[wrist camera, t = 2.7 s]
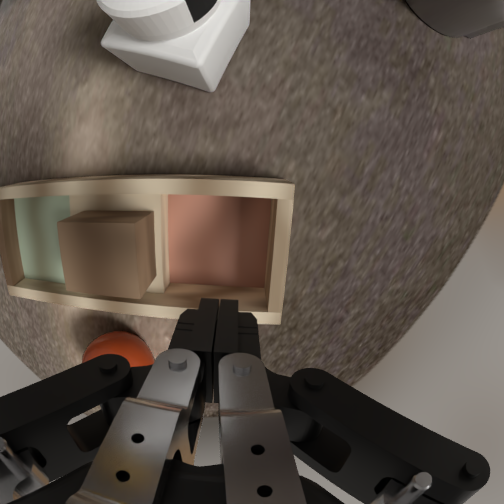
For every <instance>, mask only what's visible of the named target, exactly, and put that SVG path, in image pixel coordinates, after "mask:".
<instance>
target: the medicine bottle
mask: <svg viewBox="0 0 504 504" xmlns="http://www.w3.org/2000/svg"><path fill="white" fill-rule="evenodd" d="M96 1H97V3H98V5H99V6H100V8H101V9H102V10H103V11H104V12H105V13H106V14H108V15H109V16H110V17H111V18H112V19H113V21H112V22H111V24H110V26H109V27H108V29H107V31H106V33H105V35H104V36H103V38H102V40H101V46H102V47H104V48H105V49H107V50H108V51H110V52H111V53H112V54H114V55H115V56H117V57H118V58H120V59H121V60H122V61H124V62H125V63H127V64H128V65H129V66H131V67H132V68H133V69H135V70H136V71H138V72H142V73H146V74H150V75H154V76H158V77H162V78H165V79H169V80H172V81H176V82H179V83H182V84H185V85H189V86H192V87H195V88H198V89H201V90H204V91H207V92H213V91H214V90H215V89H216V87H217V85H218V83H219V81H220V79H221V77H222V75H223V73H224V71H225V69H226V67H227V65H228V63H229V61H230V59H231V57H232V55H233V53H234V52H235V50H236V48H237V46H238V44H239V42H240V40H241V39H242V37H243V35H244V33H245V31H246V30H247V28H248V26H249V22H250V0H96Z"/></svg>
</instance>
